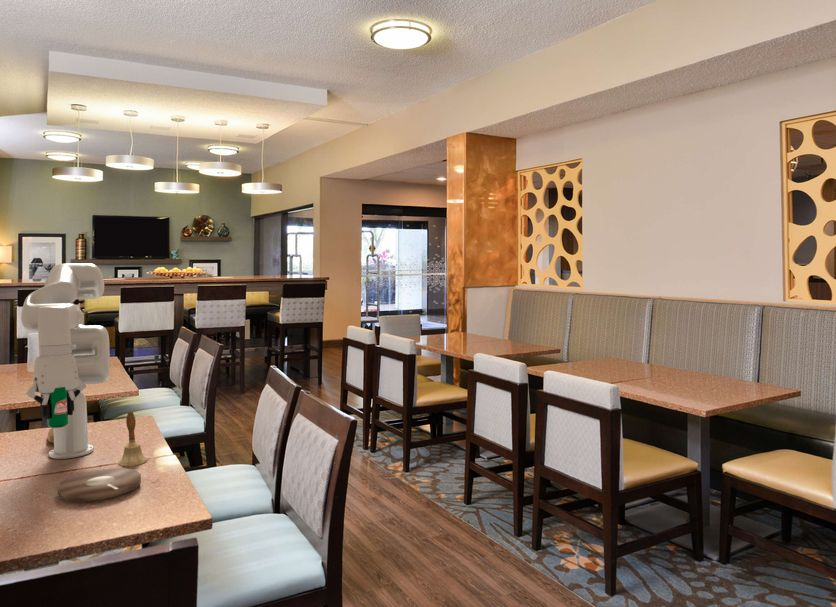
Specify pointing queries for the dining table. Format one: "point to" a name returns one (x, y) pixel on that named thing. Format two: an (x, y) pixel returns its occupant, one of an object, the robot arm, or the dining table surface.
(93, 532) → the dining table surface
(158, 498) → the dining table surface
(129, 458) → the hand bell
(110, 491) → the turntable
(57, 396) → the soda can
